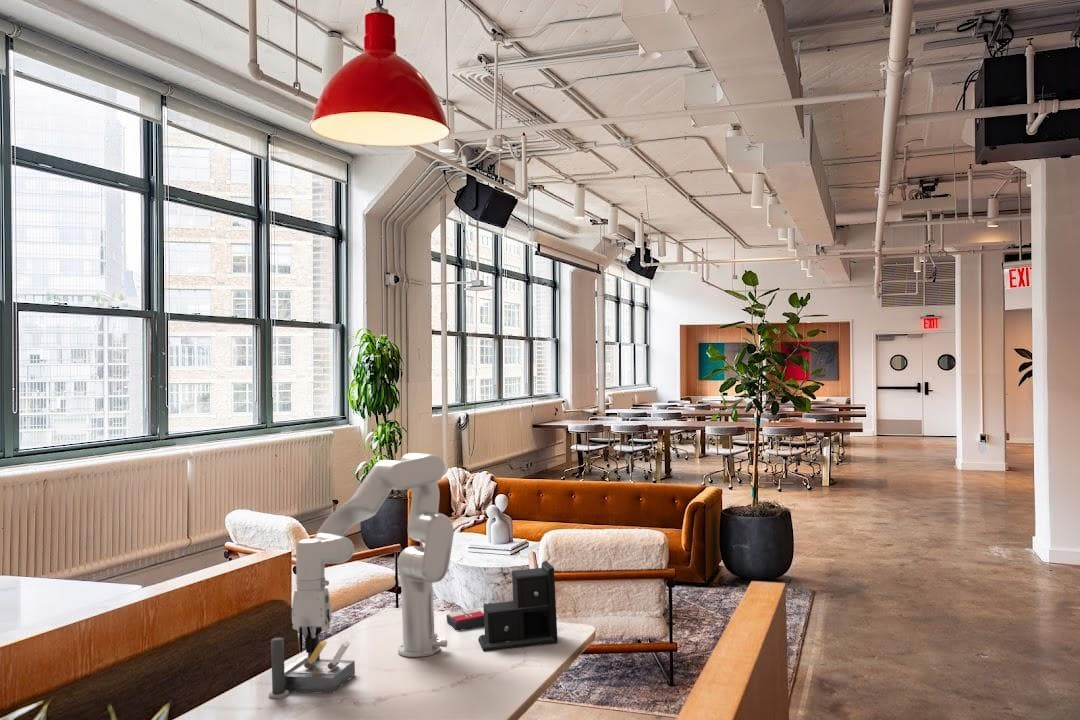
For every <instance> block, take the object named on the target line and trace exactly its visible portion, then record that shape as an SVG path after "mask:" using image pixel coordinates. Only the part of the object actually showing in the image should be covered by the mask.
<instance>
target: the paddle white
mask: <svg viewBox="0 0 1080 720" xmlns="http://www.w3.org/2000/svg"><path fill="white" fill-rule="evenodd" d="M350 644H351V642H349V640H345V641H344V642H343V643H342V644H341V645H340V647H339V648H338V650H337V652H336V653H335V655H334V656H333V658H332V659H331V660H332V661H331V663H329V664H328V668H329V669H332V668H334V667H335V666H336V665H338V664H339V660H342V657H343V656H344V654H345V652H346V651H347V649H348V648H349V646H350Z"/></svg>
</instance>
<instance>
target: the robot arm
mask: <svg viewBox="0 0 1080 720" xmlns="http://www.w3.org/2000/svg"><path fill="white" fill-rule="evenodd" d="M445 468H446V466H445V461H444V460H443V459H442V458H441V457H440V456H439V455H436V454H432V453H420V452H410V453H406V454H404V455H403V456H402V457H401V458H400V460H396V459H395V460H393V459H382V460H378V461H376V463H374V465H373V466H372V467H371V469H370V470H369V472H368V473H367V475H366V476H365V477H364V479H363V480H362V482H361V483H360V485H359V486H358V487H357V489H356V491H355V492H354V493H353V495H352V496H351V497H350V499H349V500H347V501H346V502H344V503H343V504H342V505H340V507H338V508H337V509H336V510H335V511H333V512H332V513H331V514H330V515H329V516H328V517H327V518H326V519H325V520H324V522H323V523H322V525H320V527H319V528H318V530H317V532H316V533H315V535H314V537H313V538H311V537H310V538H303V539H301V540H299V541H297V543H296V546H295V547H296V548H295V550H296V551H295V554H296V555H295V557H296V558H295V559H296V564H295V565H296V570H295V571H296V589H294V592H293V596H292V597H293V598H292V604H291V605H292V606H291V622H292V630H296V631H298V632H300V633H301V635H302V637H303V638H304V648H305V653H307V654H308V653H309V652H310V653H313V652H314V650H315V649H316V647H317V645H318V635H319V636H320V635H321V633H322V632H323V633H324V632H326V631H329V630H330V629H331V626H330V623H331V622H332V618H333V617H332V615H333V613H332V604H331V597H330V593H329V588H328V587H327V586H329V584H330V581H329V580H326V577H325V573H326V572H325V569H326V568H325V565H326V564H328V565H329V564H343V563H345V562H348V561H349V560H350V559H351V558H352V556H353V555H354V553H355V545H354V543H353V541H352V540H351V539H350V538H349V537H347V536H344V534H345V533H346V532H347V531H348V530H349V529H350V528H352V527H353V526H355V525H357V524H359V523H361V522H363V521H366V520H368V519H371V518H372V517H374V516H375V515H376V514H377V513H378V511H379V510H380V509H381V507H382V505H383V504H384V502H385V501H386V499H387V498H388V496H389V495H390V493H391V492H392V490H396V491H405V490H410V489H411V504H410V510H409V514H408V515H409V516H408V522H407V535H408V537H409V538H410V539H411V540H413V541H415V542H419V543H424V546H419V545H412V546H411V545H410V546H408V547H405V548H404V549H402V551H401V552H400V553H399V556H398V558H397V570H398V571H397V572H398V576H399V579H400V587H401V614H402V617H401V618H402V619H401V620H402V644H401V645H400V646H399V647H397V648H398V649H397V653H398V654H399V655H401V656H402V657H407V658H408V657H409V658H420V657H421V658H423V657H427V656H431V655H434V654H436V653H438V652H439V651H440V650H441V648H447V647H448V644H449V643H448V640H447V639H446V638H439V637H438V633H435V616H434V615H435V613H434V609H435V608H434V588H433V584H434V583H435V584H436V583H439V582H441V581H442V580H443V579H444V578H445V577H446V575H447V573H448V570H449V567H450V563H451V562H450V561H451V556H452V555H451V554H452V548H453V541H454V532H455V531H454V524H453V522H452V520H451V519H450V517H449V516H447V515H445V514H444V513H440V512H439V508H440V498H441V497H440V495H441V494H440V487H439V483H438V481H440V480H441V478H442V477H443V476H444V474H445V471H446V469H445ZM311 627H312V631H311Z"/></svg>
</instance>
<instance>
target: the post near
mask: <svg viewBox="0 0 1080 720" xmlns="http://www.w3.org/2000/svg"><path fill="white" fill-rule="evenodd" d="M284 641H285V639H284V637H274V638H271V640H270V653H271V655H270V657H271V683H272V684H271V685H272V687H271V688H272V689H271V691H269V693H268V697H269V699H272V700H278V699H283V698H286V697H288V696H289V694H290V691H288V690H287V689H285V671H284V669H285V644H284V643H285V642H284Z"/></svg>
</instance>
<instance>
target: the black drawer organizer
mask: <svg viewBox="0 0 1080 720" xmlns="http://www.w3.org/2000/svg"><path fill="white" fill-rule="evenodd" d="M511 580H512V581H511V582H512V583H511V584H512V600H511V601H500V602H490V603H489V602H488V603H483V607H484V626H483V628H484V634H481V635H479V636H478V639H477V640H478V643H479V645H480V647H481V649H482V651H483V652H491V651H499V650H507V649H515V648H524V647H534V646H541V645H552V644H558V643H559V639H558V638H559V637H558V624H557V623H558V621H557V619H558V618H557V601H556V585H555V584H556V581H555V580H556V579H555V568H554V566H553V565H552V564H550V562H549V561H548V560H544V561H542V562H541V566H540V567H539V568H526V569H516V570H511Z"/></svg>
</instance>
